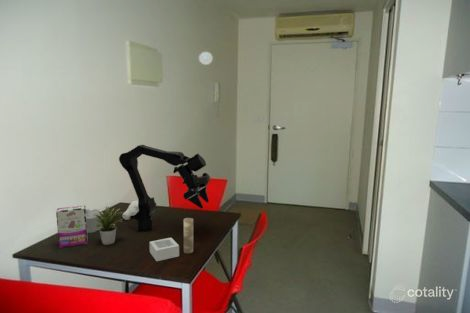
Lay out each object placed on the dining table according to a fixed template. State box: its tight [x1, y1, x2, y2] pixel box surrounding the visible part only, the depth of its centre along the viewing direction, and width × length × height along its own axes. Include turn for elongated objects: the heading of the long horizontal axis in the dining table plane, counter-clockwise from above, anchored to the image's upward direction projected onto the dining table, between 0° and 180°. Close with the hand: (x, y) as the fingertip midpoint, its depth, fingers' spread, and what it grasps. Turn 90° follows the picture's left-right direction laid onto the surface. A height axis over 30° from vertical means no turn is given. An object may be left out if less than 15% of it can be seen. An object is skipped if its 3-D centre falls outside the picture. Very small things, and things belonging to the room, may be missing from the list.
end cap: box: [149, 237, 180, 262], centre depth 130 cm, size 9×9×4 cm
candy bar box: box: [55, 204, 88, 249], centre depth 137 cm, size 11×5×16 cm, turn 114°
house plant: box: [92, 206, 124, 246], centre depth 139 cm, size 14×14×16 cm
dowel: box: [183, 217, 194, 254], centre depth 133 cm, size 4×4×14 cm
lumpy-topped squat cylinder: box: [86, 208, 105, 234], centre depth 157 cm, size 10×13×9 cm
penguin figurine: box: [122, 200, 139, 221], centre depth 173 cm, size 6×8×12 cm
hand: (205, 205), depth 149 cm, fingers open, 9 cm apart
